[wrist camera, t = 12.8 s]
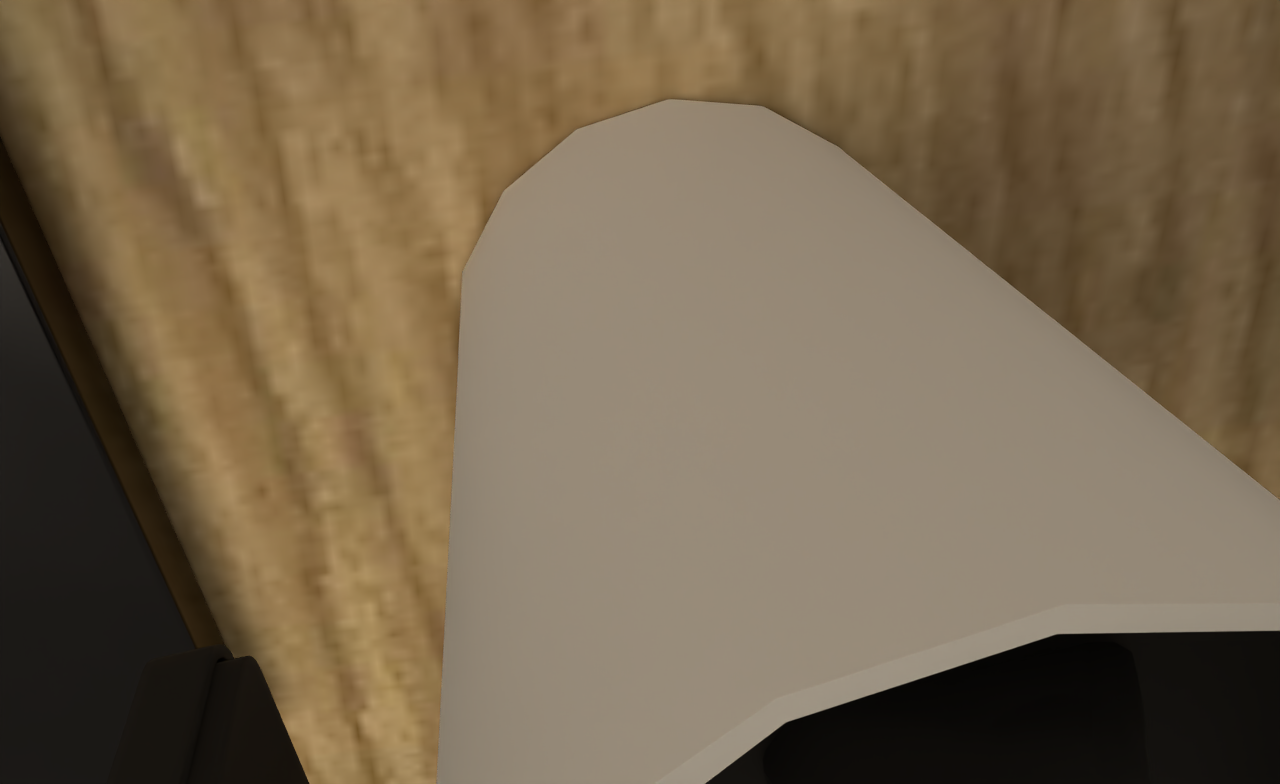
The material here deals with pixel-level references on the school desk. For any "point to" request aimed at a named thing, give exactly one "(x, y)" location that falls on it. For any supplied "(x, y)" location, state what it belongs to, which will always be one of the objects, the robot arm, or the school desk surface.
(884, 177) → the school desk surface
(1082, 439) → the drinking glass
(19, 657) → the thin black tile
